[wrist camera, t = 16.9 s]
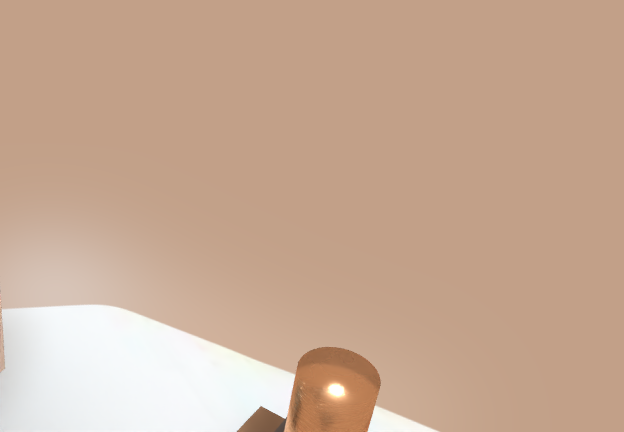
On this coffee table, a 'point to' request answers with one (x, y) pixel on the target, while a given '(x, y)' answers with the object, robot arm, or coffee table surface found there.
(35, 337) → the coffee table surface
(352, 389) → the brushed copper cylinder
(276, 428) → the duct base
